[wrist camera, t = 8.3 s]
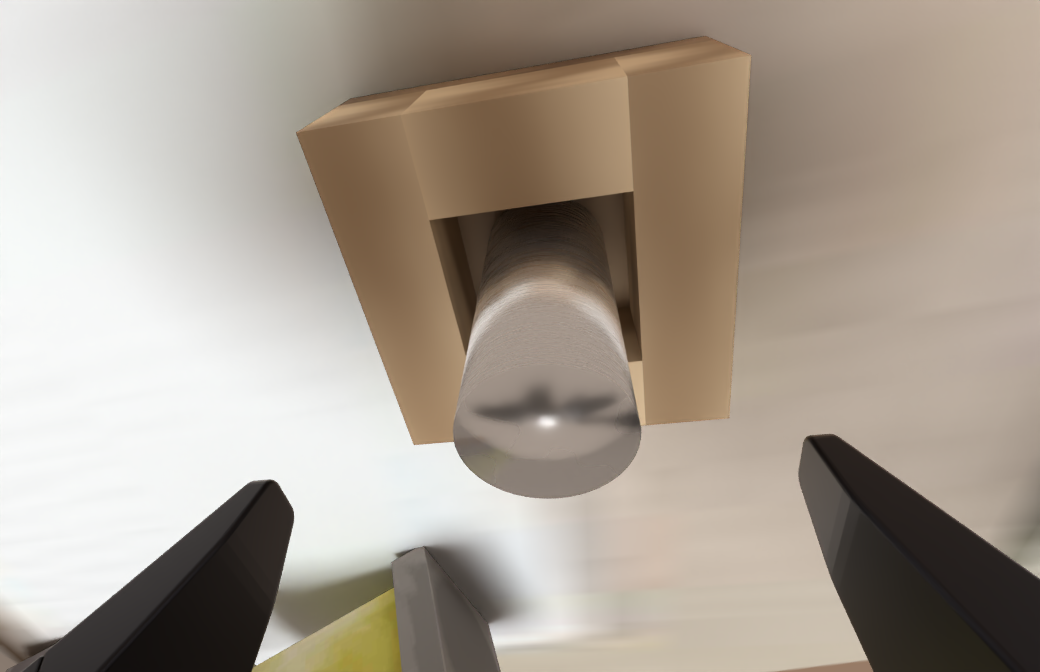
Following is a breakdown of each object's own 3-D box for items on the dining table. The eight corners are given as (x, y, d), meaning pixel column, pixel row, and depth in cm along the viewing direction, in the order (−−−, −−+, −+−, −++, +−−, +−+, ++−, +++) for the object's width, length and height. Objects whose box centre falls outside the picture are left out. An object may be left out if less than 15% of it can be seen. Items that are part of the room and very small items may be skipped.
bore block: (705, 35, 14) (751, 55, 11) (699, 343, 20) (729, 418, 17) (350, 98, 16) (296, 132, 12) (435, 370, 21) (413, 445, 18)
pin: (598, 185, 16) (635, 354, 9) (608, 291, 18) (645, 490, 11) (477, 204, 16) (431, 377, 10) (500, 305, 18) (475, 504, 12)
